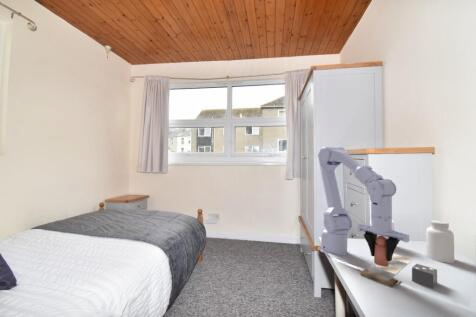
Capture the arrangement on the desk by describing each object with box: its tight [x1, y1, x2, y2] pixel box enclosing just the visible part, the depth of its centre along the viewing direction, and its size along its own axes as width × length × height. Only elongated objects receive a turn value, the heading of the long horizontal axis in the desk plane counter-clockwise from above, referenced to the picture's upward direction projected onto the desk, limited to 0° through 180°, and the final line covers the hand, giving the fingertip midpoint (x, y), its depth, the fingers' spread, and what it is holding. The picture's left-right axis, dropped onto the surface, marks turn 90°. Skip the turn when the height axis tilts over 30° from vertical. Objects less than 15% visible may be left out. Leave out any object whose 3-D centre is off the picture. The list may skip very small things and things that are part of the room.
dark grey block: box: [411, 263, 438, 289], centre depth 68 cm, size 5×5×5 cm
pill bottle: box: [425, 219, 455, 264], centre depth 85 cm, size 8×8×15 cm
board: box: [360, 253, 414, 288], centre depth 78 cm, size 9×28×1 cm, turn 128°
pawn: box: [373, 236, 389, 267], centre depth 72 cm, size 4×4×9 cm
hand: (381, 257), depth 72 cm, fingers closed on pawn, 4 cm apart
